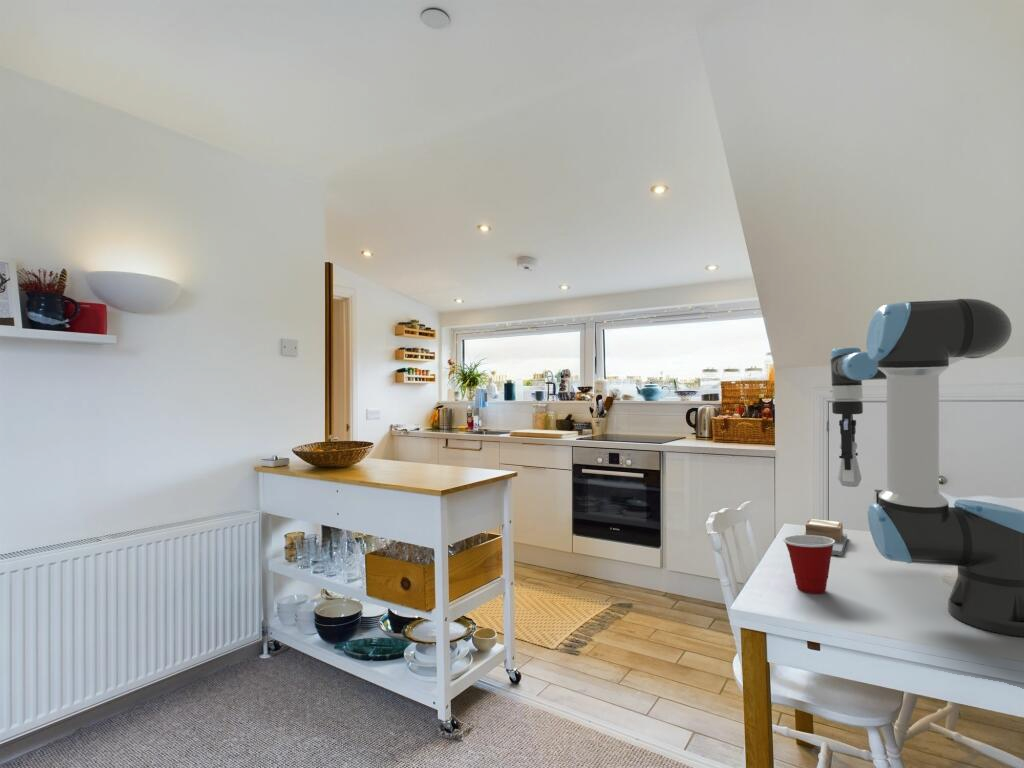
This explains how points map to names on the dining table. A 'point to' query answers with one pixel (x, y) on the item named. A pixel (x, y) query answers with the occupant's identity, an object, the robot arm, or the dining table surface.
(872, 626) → the dining table surface
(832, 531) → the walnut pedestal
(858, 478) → the salt shaker
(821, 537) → the plastic cup
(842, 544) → the build plate
